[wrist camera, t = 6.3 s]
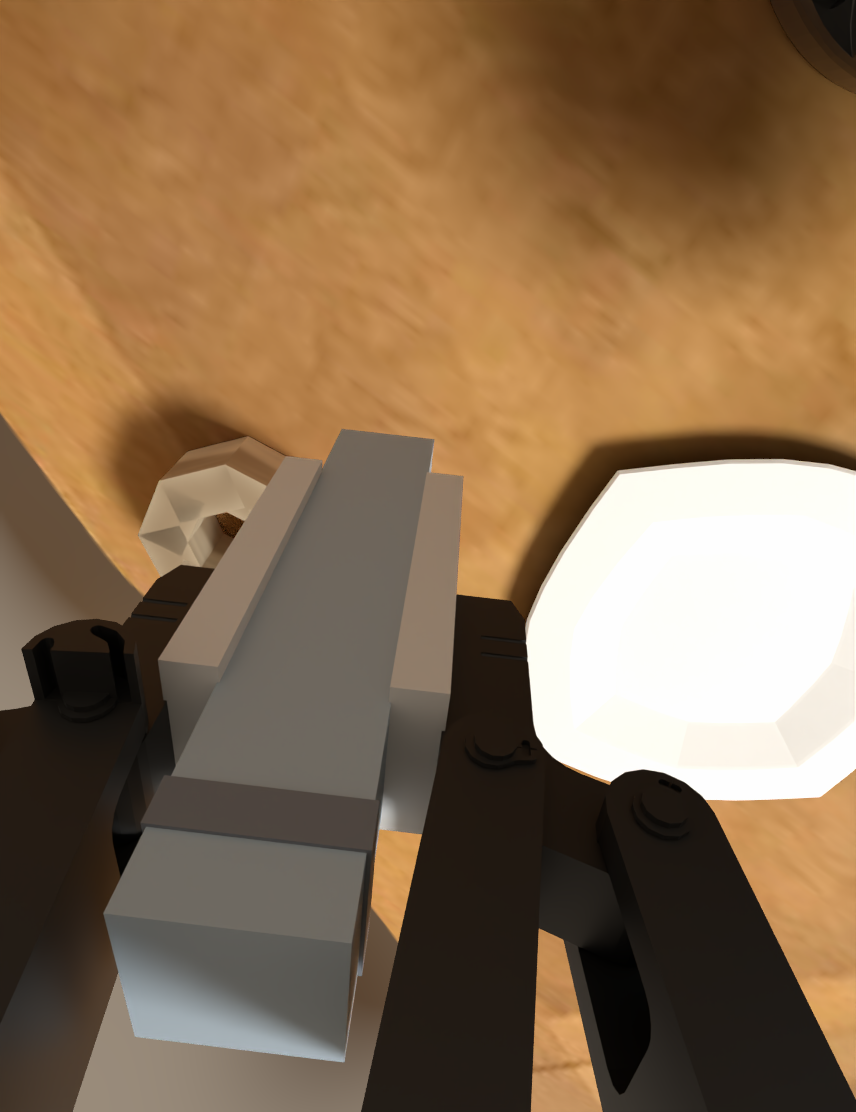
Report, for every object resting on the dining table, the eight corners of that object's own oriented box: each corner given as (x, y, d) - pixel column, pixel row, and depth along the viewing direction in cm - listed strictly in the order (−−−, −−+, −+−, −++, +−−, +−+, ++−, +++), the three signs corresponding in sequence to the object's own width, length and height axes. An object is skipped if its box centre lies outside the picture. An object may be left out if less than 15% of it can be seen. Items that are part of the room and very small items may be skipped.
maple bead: (145, 462, 36) (114, 492, 33) (292, 424, 34) (273, 452, 31) (212, 591, 40) (189, 628, 37) (346, 563, 38) (334, 600, 35)
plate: (1041, 491, 34) (1070, 509, 32) (824, 801, 46) (837, 826, 44) (581, 406, 33) (587, 420, 32) (483, 743, 45) (483, 766, 44)
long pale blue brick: (339, 426, 16) (96, 909, 6) (436, 437, 16) (357, 941, 6) (337, 512, 18) (130, 1037, 7) (427, 523, 17) (348, 1064, 7)
